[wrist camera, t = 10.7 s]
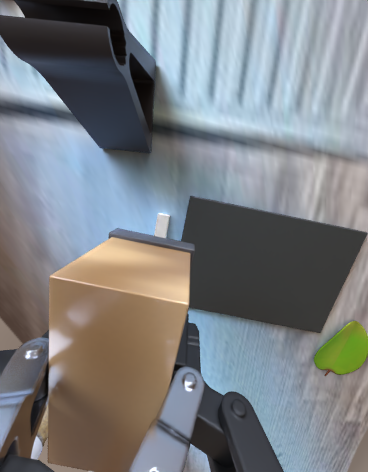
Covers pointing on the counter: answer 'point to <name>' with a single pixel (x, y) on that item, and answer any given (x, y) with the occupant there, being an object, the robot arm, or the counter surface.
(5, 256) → the counter surface
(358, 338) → the decorative leaf
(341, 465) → the counter surface
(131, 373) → the eraser
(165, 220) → the small white block
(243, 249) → the memo board
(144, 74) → the phone stand
